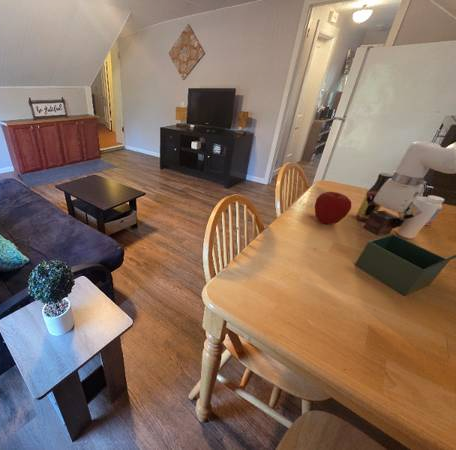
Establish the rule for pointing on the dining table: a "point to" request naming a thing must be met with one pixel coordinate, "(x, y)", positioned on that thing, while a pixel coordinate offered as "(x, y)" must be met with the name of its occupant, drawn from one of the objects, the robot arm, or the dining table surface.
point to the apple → (332, 207)
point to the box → (380, 222)
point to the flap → (442, 261)
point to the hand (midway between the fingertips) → (380, 220)
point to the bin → (400, 264)
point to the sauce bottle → (375, 188)
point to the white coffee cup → (418, 217)
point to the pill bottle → (437, 210)
